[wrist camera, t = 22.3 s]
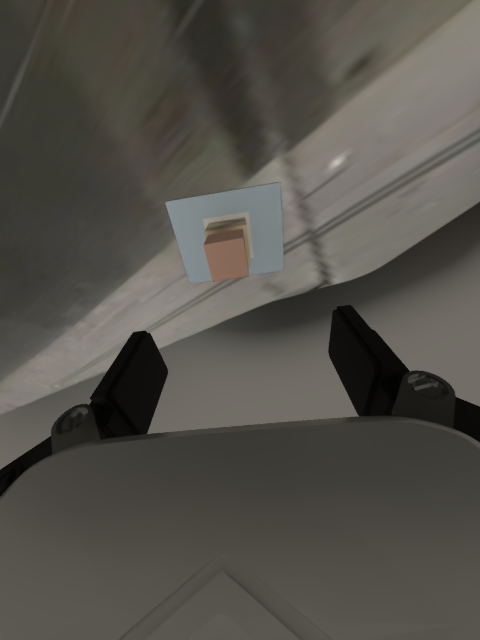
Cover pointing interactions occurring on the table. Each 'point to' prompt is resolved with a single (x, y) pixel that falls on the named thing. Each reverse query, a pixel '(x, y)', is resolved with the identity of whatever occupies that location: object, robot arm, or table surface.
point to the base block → (230, 226)
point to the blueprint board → (250, 203)
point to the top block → (226, 255)
